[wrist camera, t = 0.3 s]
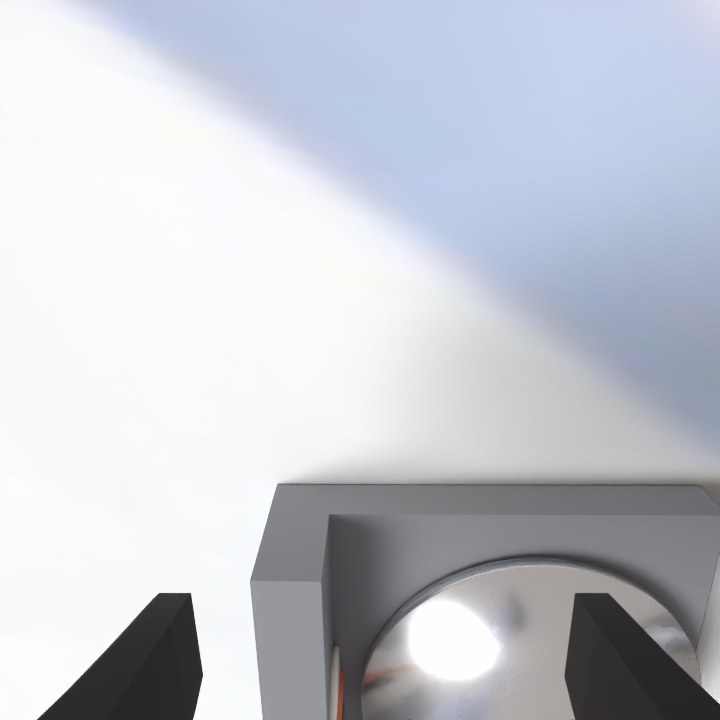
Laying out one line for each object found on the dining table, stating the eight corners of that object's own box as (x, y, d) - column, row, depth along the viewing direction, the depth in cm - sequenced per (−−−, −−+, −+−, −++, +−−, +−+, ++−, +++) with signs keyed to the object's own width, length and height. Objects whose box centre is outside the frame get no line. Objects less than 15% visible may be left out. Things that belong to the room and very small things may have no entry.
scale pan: (662, 804, 24) (669, 820, 23) (362, 799, 24) (362, 815, 24) (722, 558, 20) (733, 570, 19) (360, 556, 20) (359, 568, 19)
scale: (636, 779, 26) (695, 924, 21) (297, 774, 27) (280, 916, 22) (700, 485, 21) (797, 589, 16) (277, 484, 22) (248, 586, 17)
